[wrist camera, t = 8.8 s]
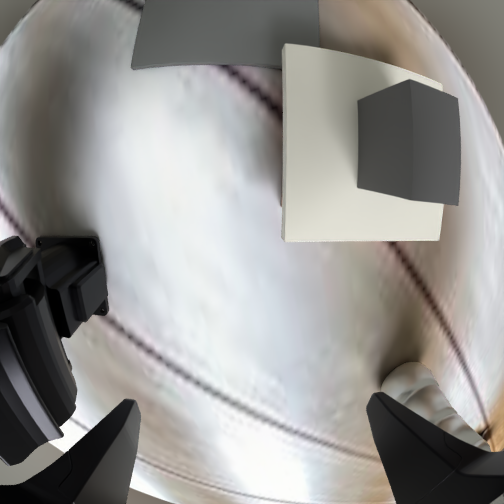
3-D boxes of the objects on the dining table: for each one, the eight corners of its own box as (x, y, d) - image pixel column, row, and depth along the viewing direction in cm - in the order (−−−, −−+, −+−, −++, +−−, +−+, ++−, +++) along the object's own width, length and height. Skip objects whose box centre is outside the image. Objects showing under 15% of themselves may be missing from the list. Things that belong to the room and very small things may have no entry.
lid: (281, 237, 15) (311, 279, 10) (281, 50, 12) (310, -5, 6) (430, 236, 16) (489, 265, 11) (433, 86, 13) (493, 72, 7)
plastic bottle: (377, 404, 26) (443, 531, 7) (369, 373, 24) (456, 527, 5) (421, 378, 26) (500, 490, 7) (420, 343, 24) (524, 471, 5)
